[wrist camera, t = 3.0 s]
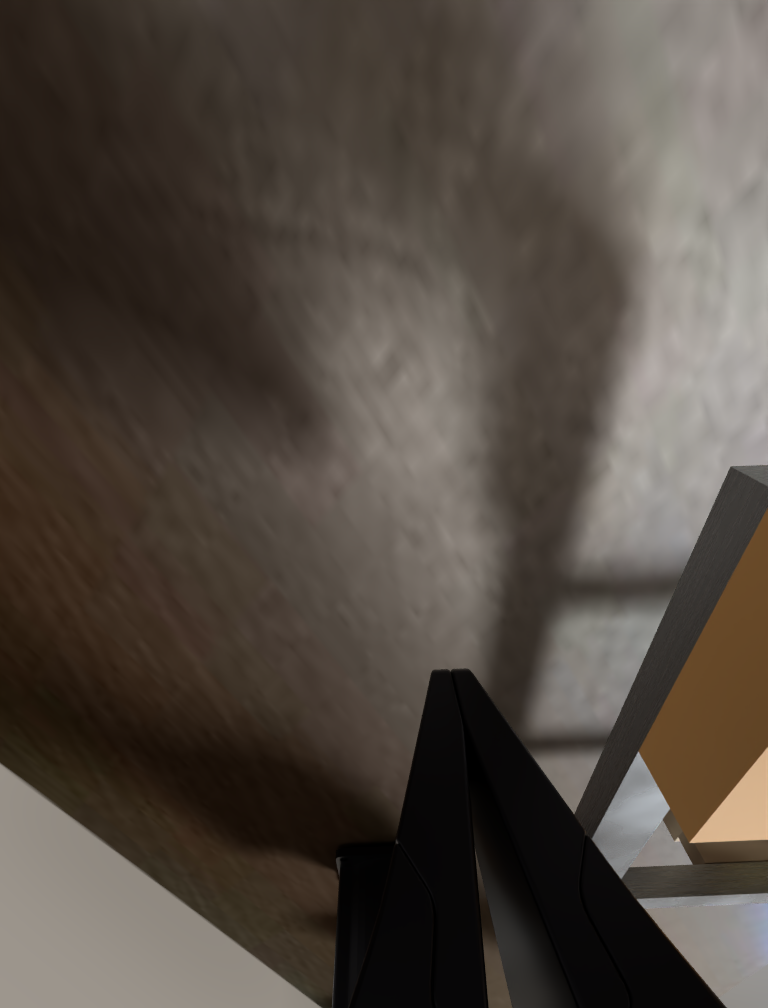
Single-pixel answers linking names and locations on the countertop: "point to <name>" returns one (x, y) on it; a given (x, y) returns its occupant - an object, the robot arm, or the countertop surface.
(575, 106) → the countertop surface
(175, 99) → the countertop surface
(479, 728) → the robot arm
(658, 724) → the key plate
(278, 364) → the countertop surface
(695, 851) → the socket block
